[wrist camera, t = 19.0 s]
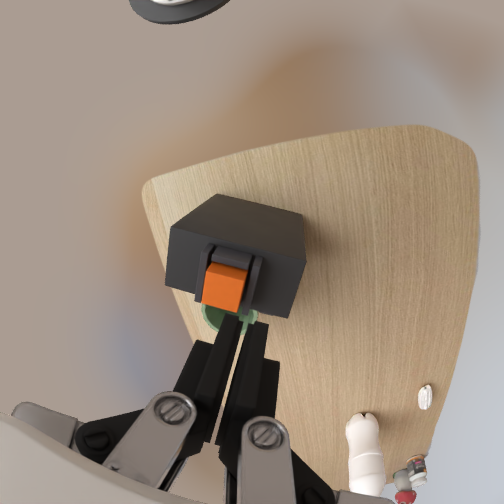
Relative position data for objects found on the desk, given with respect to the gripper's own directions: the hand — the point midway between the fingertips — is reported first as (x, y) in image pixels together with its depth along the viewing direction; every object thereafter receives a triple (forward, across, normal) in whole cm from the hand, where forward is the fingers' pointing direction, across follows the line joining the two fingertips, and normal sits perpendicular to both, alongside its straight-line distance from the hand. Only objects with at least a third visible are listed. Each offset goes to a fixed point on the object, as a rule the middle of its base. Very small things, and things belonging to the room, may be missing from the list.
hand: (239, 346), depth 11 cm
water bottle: (+29, -30, +40) cm, 58 cm away
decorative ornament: (+29, -63, +70) cm, 98 cm away
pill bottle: (+29, -61, +60) cm, 90 cm away
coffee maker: (+30, +2, +10) cm, 32 cm away
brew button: (+13, +2, +5) cm, 14 cm away
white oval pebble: (+29, -41, +30) cm, 59 cm away
